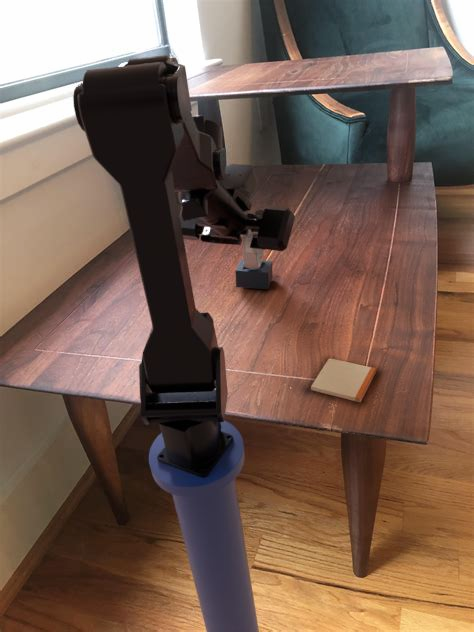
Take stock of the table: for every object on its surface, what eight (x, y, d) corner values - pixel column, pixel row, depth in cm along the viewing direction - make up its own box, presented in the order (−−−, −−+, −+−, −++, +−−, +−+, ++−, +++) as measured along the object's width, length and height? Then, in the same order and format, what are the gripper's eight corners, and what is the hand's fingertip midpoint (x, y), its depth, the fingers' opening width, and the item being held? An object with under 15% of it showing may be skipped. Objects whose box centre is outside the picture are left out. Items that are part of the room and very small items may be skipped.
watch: (274, 272, 96) (273, 213, 91) (266, 294, 90) (265, 231, 84) (243, 270, 97) (240, 211, 92) (233, 292, 91) (230, 230, 85)
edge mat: (360, 402, 66) (360, 398, 66) (311, 390, 69) (310, 386, 68) (376, 371, 70) (376, 368, 70) (329, 361, 73) (329, 357, 73)
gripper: (286, 154, 75) (318, 203, 88) (174, 150, 83) (219, 195, 97) (265, 229, 73) (301, 268, 87) (153, 217, 82) (202, 254, 95)
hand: (254, 243), depth 91 cm, fingers closed on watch, 5 cm apart
